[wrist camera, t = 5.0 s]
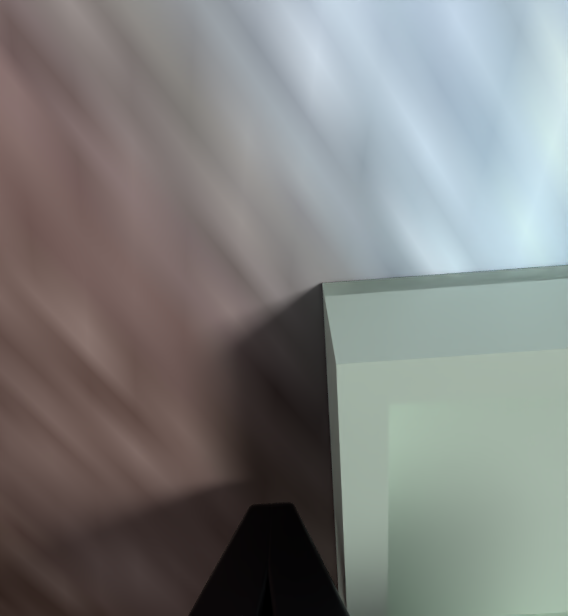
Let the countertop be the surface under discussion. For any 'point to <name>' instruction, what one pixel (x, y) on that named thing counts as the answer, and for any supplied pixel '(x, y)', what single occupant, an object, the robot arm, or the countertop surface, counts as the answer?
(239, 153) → the countertop surface
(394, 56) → the countertop surface
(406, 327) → the tray
